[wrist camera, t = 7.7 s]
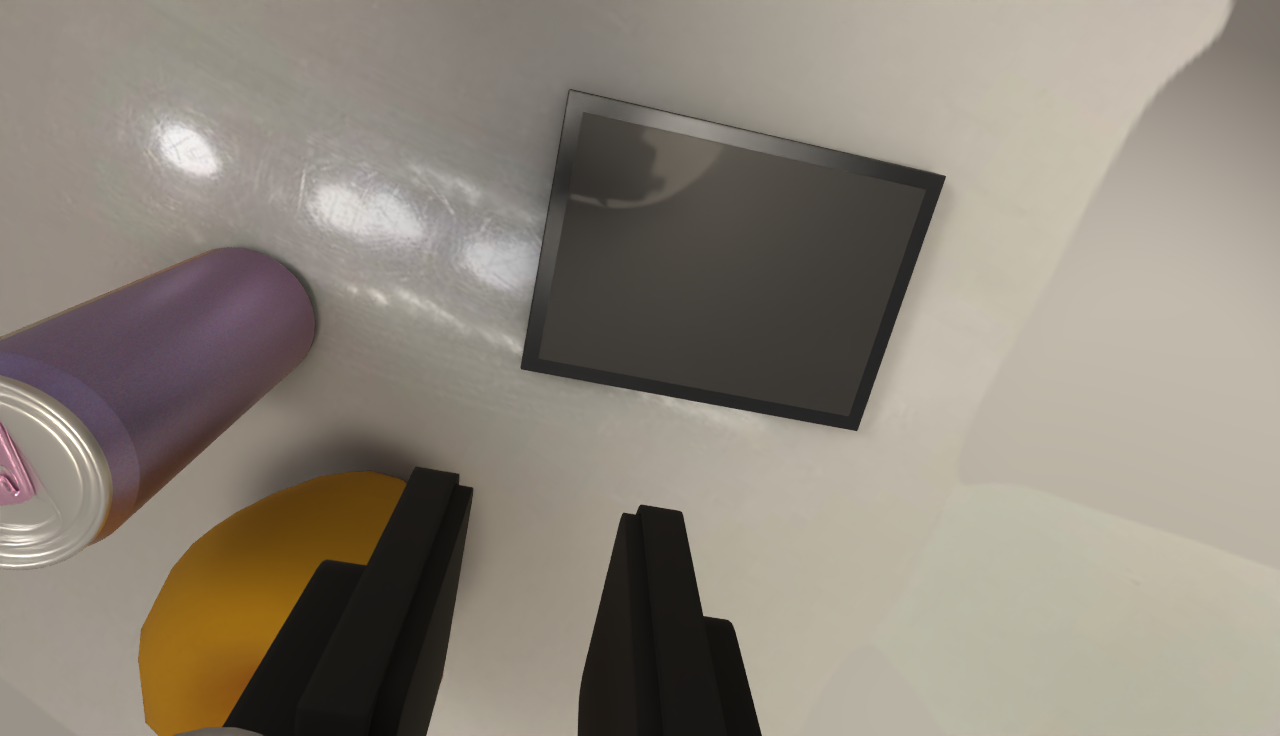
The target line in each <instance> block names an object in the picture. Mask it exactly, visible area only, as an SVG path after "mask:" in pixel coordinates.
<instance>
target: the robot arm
mask: <svg viewBox="0 0 1280 736" xmlns="http://www.w3.org/2000/svg"><path fill="white" fill-rule="evenodd" d="M472 497H473V488H472V487H466V486H460V485H459V474H456V473H451V472H445V471H439V470H433V469H427V468H421V467H415V469H414V470H413V472H412V474H411V477H410V479H409V481H408V483H407V485H406V487H405V489H404V491H403V493H402V495H401V497H400V499H399V501H398V503H397V505H396V507H395V509H394V511H393V513H392V515H391V517H390V519H389V521H388V523H387V525H386V527H385V529H384V531H383V533H382V535H381V537H380V539H379V541H378V543H377V545H376V547H375V549H374V551H373V553H372V555H371V557H370V559H369V561H368V563H367V565H361V564H355V563H348V562H341V561H335V560H328V559H326V560H324V561H322V562H321V564H320V565H319V566H318V568H317V569H316V571H315V572H314V574H313V576H312V577H311V579H310V581H309V582H308V584H307V586H306V587H305V589H304V591H303V592H302V594H301V596H300V597H299V599H298V601H297V602H296V604H295V606H294V607H293V609H292V611H291V612H290V614H289V616H288V617H287V619H286V621H285V622H284V624H283V626H282V627H281V629H280V631H279V633H278V634H277V636H276V638H275V639H274V641H273V643H272V644H271V646H270V648H269V649H268V651H267V653H266V654H265V656H264V658H263V659H262V661H261V663H260V664H259V666H258V668H257V669H256V671H255V673H254V674H253V676H252V678H251V679H250V681H249V683H248V684H247V686H246V688H245V689H244V691H243V693H242V694H241V696H240V698H239V699H238V701H237V703H236V705H235V706H234V708H233V710H232V711H231V713H230V715H229V716H228V718H227V720H226V721H225V723H224V725H223V726H222V727H207V728H202V729H197V730H193V731H188V732H183V733H179V734H175V735H173V736H426V734H427V731H428V727H429V723H430V720H431V716H432V712H433V708H434V705H435V701H436V697H437V694H438V690H439V686H440V682H441V678H442V674H443V669H444V665H445V660H446V654H447V648H448V642H449V636H450V630H451V624H452V618H453V612H454V606H455V600H456V594H457V588H458V582H459V576H460V570H461V564H462V558H463V552H464V546H465V540H466V534H467V528H468V522H469V516H470V510H471V504H472ZM578 736H762V735H761V731H760V727H759V723H758V719H757V715H756V711H755V707H754V703H753V699H752V695H751V691H750V688H749V684H748V680H747V676H746V672H745V668H744V664H743V660H742V656H741V652H740V648H739V644H738V640H737V637H736V633H735V630H734V627H733V625H732V623H731V622H730V621H729V620H725V619H719V618H712V617H705V616H703V612H702V607H701V602H700V597H699V592H698V587H697V582H696V577H695V572H694V567H693V562H692V557H691V552H690V547H689V543H688V538H687V533H686V528H685V523H684V518H683V514H682V512H681V511H677V510H671V509H665V508H659V507H653V506H647V505H640V506H639V508H638V510H637V513H636V515H634V514H628V513H623V514H622V516H621V519H620V523H619V527H618V531H617V535H616V539H615V543H614V547H613V552H612V556H611V560H610V564H609V568H608V572H607V576H606V580H605V584H604V589H603V593H602V597H601V601H600V605H599V609H598V613H597V617H596V622H595V626H594V630H593V634H592V638H591V642H590V646H589V650H588V654H587V659H586V663H585V667H584V671H583V676H582V681H581V687H580V695H579V711H578Z"/></svg>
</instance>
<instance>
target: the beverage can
mask: <svg viewBox="0 0 1280 736" xmlns="http://www.w3.org/2000/svg"><path fill="white" fill-rule="evenodd" d="M314 330H315V320H314V313H313V308H312V305H311V302H310V300H309V297H308V295H307V293H306V291H305V290H304V288H303V287H302V285H301V284H300V282H299V281H298V280H297V279H296V277H295V276H294V275H293V274H292V273H291V272H290V271H289V270H288V269H286V268H285V267H284V266H283V265H281V264H280V263H278V262H277V261H275V260H274V259H272V258H270V257H268V256H266V255H264V254H261V253H259V252H256V251H252V250H248V249H243V248H219V249H214V250H210V251H207V252H205V253H202V254H200V255H197V256H195V257H193V258H190V259H188V260H185V261H183V262H180V263H178V264H176V265H173V266H171V267H168V268H166V269H164V270H161V271H159V272H156V273H154V274H151V275H149V276H147V277H144V278H142V279H139V280H137V281H135V282H132V283H130V284H127V285H125V286H122V287H120V288H118V289H115V290H113V291H110V292H108V293H105V294H103V295H101V296H98V297H96V298H93V299H91V300H89V301H86V302H84V303H81V304H79V305H76V306H74V307H72V308H69V309H67V310H64V311H62V312H59V313H57V314H55V315H52V316H50V317H47V318H45V319H43V320H40V321H38V322H35V323H33V324H30V325H28V326H26V327H23V328H21V329H18V330H16V331H14V332H11V333H9V334H6V335H4V336H1V337H0V569H6V570H28V569H37V568H43V567H47V566H51V565H54V564H57V563H60V562H62V561H65V560H67V559H69V558H71V557H73V556H74V555H76V554H77V553H79V552H80V551H82V550H83V549H84V548H86V547H87V546H90V545H92V544H95V543H97V542H99V541H101V540H103V539H104V538H106V537H107V536H109V535H110V534H112V533H113V532H114V531H115V530H117V529H118V528H119V527H120V526H121V525H122V524H123V523H124V522H125V521H126V520H128V519H129V518H130V517H131V516H132V515H133V514H134V513H135V512H136V511H137V510H139V509H140V508H141V507H142V506H143V505H144V504H145V503H146V502H147V501H148V500H150V499H151V498H152V497H153V496H154V495H155V494H156V493H157V492H158V491H159V490H161V489H162V488H163V487H164V486H165V485H166V484H167V483H168V482H169V481H170V480H172V479H173V478H174V477H175V476H176V475H177V474H178V473H179V472H180V471H181V470H183V469H184V468H185V467H186V466H187V465H188V464H189V463H190V462H191V461H193V460H194V459H195V458H196V457H197V456H198V455H199V454H200V453H201V452H202V451H204V450H205V449H206V448H207V447H208V446H209V445H210V444H211V443H212V442H213V441H215V440H216V439H217V438H218V437H219V436H220V435H221V434H222V433H223V432H224V431H226V430H227V429H228V428H229V427H230V426H231V425H232V424H233V423H234V422H235V421H237V420H238V419H239V418H240V417H241V416H242V415H243V414H244V413H245V412H246V411H248V410H249V409H250V408H251V407H252V406H253V405H254V404H255V403H256V402H257V401H259V400H260V399H261V398H262V397H263V396H264V395H265V394H266V393H267V392H269V391H270V390H271V389H272V388H273V387H274V386H275V385H276V384H277V383H278V382H280V381H281V380H282V379H283V378H284V377H285V376H286V375H287V374H288V373H289V372H291V371H292V370H293V369H294V368H295V367H296V366H297V365H298V364H299V363H300V362H301V361H302V360H303V359H304V357H305V356H306V354H307V353H308V351H309V349H310V347H311V344H312V341H313V337H314Z"/></svg>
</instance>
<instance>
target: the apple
mask: <svg viewBox="0 0 1280 736" xmlns="http://www.w3.org/2000/svg"><path fill="white" fill-rule="evenodd" d="M406 485H407V484H406V483H405V482H404V481H403V480H402V479H399V478H395V477H392V476H388V475H385V474H381V473H377V472H374V471H355V472H346V473H339V474H333V475H326V476H320V477H317V478H314V479H312V480H309V481H306V482H303V483H301V484H298V485H295V486H293V487H290V488H287V489H285V490H282V491H279V492H276V493H274V494H271V495H270V496H268V497H266V498H264V499H262V500H260V501H258V502H256V503H254V504H252V505H250V506H248V507H246V508H244V509H242V510H240V511H238V512H236V513H235V514H233V515H232V516H230V517H229V518H227V519H226V520H224V521H223V522H221V523H220V524H218V525H217V526H215V527H213V528H212V529H211V530H210V531H208V532H207V533H206V534H205V535H203V536H202V537H201V538H200V539H198V540H197V541H196V542H195V543H193V544H192V545H191V547H190V548H189V549H188V550H187V551H186V553H185V554H184V555H183V556H182V557H181V558H180V560H179V561H178V562H177V563H176V564H175V565H174V567H173V568H172V570H171V572H170V574H169V575H168V577H167V579H166V581H165V583H164V585H163V587H162V589H161V591H160V593H159V595H158V597H157V599H156V601H155V603H154V605H153V607H152V609H151V611H150V613H149V615H148V617H147V619H146V621H145V623H144V625H143V627H142V629H141V637H140V647H139V657H138V662H139V670H140V679H141V687H142V696H143V704H144V713H145V721H146V723H147V724H148V725H149V726H150V727H151V728H152V730H153V731H154V732H155V733H156V734H157V735H158V736H173V735H175V734H179V733H183V732H188V731H193V730H197V729H202V728H207V727H222V726H223V725H224V723H225V721H226V720H227V718H228V716H229V715H230V713H231V711H232V710H233V708H234V706H235V705H236V703H237V701H238V699H239V698H240V696H241V694H242V693H243V691H244V689H245V688H246V686H247V684H248V683H249V681H250V679H251V678H252V676H253V674H254V673H255V671H256V669H257V668H258V666H259V664H260V663H261V661H262V659H263V658H264V656H265V654H266V653H267V651H268V649H269V648H270V646H271V644H272V643H273V641H274V639H275V638H276V636H277V634H278V633H279V631H280V629H281V627H282V626H283V624H284V622H285V621H286V619H287V617H288V616H289V614H290V612H291V611H292V609H293V607H294V606H295V604H296V602H297V601H298V599H299V597H300V596H301V594H302V592H303V591H304V589H305V587H306V586H307V584H308V582H309V581H310V579H311V577H312V576H313V574H314V572H315V571H316V569H317V568H318V566H319V565H320V564H321V562H322V561H324V560H326V559H328V560H335V561H341V562H348V563H355V564H361V565H367V563H368V561H369V559H370V557H371V555H372V553H373V551H374V549H375V547H376V545H377V543H378V541H379V539H380V537H381V535H382V533H383V531H384V529H385V527H386V525H387V523H388V521H389V519H390V517H391V515H392V513H393V511H394V509H395V507H396V505H397V503H398V501H399V499H400V497H401V495H402V493H403V491H404V489H405V487H406ZM443 671H444V669H443ZM442 677H443V674H442ZM441 680H442V678H441ZM440 683H441V682H440Z"/></svg>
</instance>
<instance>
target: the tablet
mask: <svg viewBox="0 0 1280 736" xmlns="http://www.w3.org/2000/svg"><path fill="white" fill-rule="evenodd" d="M945 178H946V176H944V175H940V174H936V173H932V172H927V171H923V170H919V169H914V168H910V167H906V166H901V165H897V164H893V163H888V162H884V161H880V160H875V159H871V158H867V157H862V156H858V155H854V154H849V153H845V152H841V151H836V150H832V149H828V148H823V147H819V146H815V145H810V144H806V143H802V142H797V141H793V140H789V139H784V138H780V137H776V136H771V135H767V134H763V133H758V132H754V131H750V130H745V129H741V128H737V127H732V126H728V125H724V124H719V123H715V122H711V121H706V120H702V119H698V118H693V117H689V116H685V115H680V114H676V113H672V112H667V111H663V110H659V109H654V108H650V107H646V106H641V105H637V104H633V103H628V102H624V101H620V100H615V99H611V98H607V97H602V96H598V95H594V94H589V93H585V92H581V91H576V90H572V89H570V90H569V92H568V98H567V104H566V109H565V115H564V121H563V127H562V132H561V138H560V144H559V150H558V155H557V161H556V167H555V173H554V178H553V184H552V190H551V196H550V201H549V207H548V213H547V219H546V224H545V230H544V236H543V242H542V247H541V253H540V259H539V265H538V270H537V276H536V282H535V288H534V293H533V299H532V305H531V311H530V316H529V322H528V328H527V334H526V339H525V345H524V351H523V357H522V362H521V369H523V370H528V371H534V372H539V373H545V374H550V375H555V376H561V377H566V378H572V379H577V380H583V381H588V382H593V383H599V384H604V385H610V386H615V387H621V388H626V389H632V390H637V391H642V392H648V393H653V394H659V395H664V396H670V397H675V398H680V399H686V400H691V401H697V402H702V403H708V404H713V405H718V406H724V407H729V408H735V409H740V410H746V411H751V412H756V413H762V414H767V415H773V416H778V417H784V418H789V419H794V420H800V421H805V422H811V423H816V424H822V425H827V426H832V427H838V428H843V429H849V430H854V431H857V430H858V427H859V425H860V422H861V419H862V416H863V413H864V410H865V407H866V404H867V402H868V399H869V396H870V393H871V390H872V387H873V384H874V381H875V379H876V376H877V373H878V370H879V367H880V364H881V361H882V359H883V356H884V353H885V350H886V347H887V344H888V341H889V338H890V336H891V333H892V330H893V327H894V324H895V321H896V318H897V316H898V313H899V310H900V307H901V304H902V301H903V298H904V295H905V293H906V290H907V287H908V284H909V281H910V278H911V275H912V273H913V270H914V267H915V264H916V261H917V258H918V255H919V252H920V250H921V247H922V244H923V241H924V238H925V235H926V232H927V230H928V227H929V224H930V221H931V218H932V215H933V212H934V209H935V207H936V204H937V201H938V198H939V195H940V192H941V189H942V187H943V184H944V181H945Z"/></svg>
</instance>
